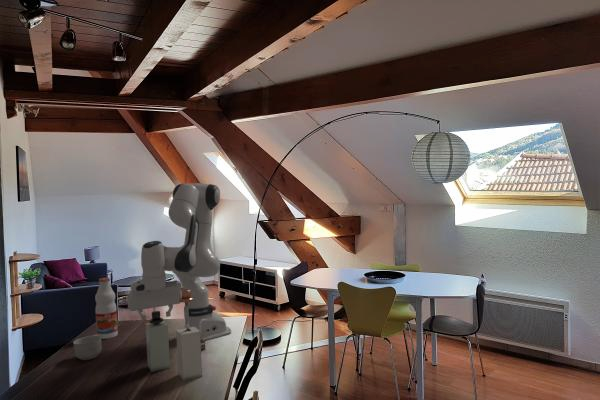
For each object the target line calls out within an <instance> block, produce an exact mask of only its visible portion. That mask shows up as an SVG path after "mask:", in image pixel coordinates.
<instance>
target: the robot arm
mask: <svg viewBox="0 0 600 400" xmlns="http://www.w3.org/2000/svg"><path fill="white" fill-rule="evenodd" d="M220 200H221V191H220V189H219V187H218V185H217V184H211V183H208V184H207V183H199V182H195V183H179V184H177V185H175V187H174V188H173V191H172V200H171V202H170V205H169V207H168V217H169V219H170V221H171V222H172V223H173V224H175V225H176V226H178V227H180V228H183V229H185V237H184V244H183V245H182V246H180V247H179V246H177V247H176V246H175V247H173V246H165V245H163V242H162V241H160V240H154V241H153V240H152V241H147V242H145V243H143V244H142V246H141V254H140V264H141V267H142V274H141V275H142V276H141V279H140V280H138V281H135V282H133V283H131V284H129V285H130V287H129V288H130V291H129V293H128V295H127V297H128V298H127V308H128V310H130V311H131V312H134V311H137V312H138V314H139V315H140V316H141V321H142V322H144V321H145V322H146V321H147V316H146V315H145V314H143V310H147V309H154V308H160V307H167V306H168V309H167V311H165V317H167V318H168V317H169V318H170V317H172V315H171V314H172V313H171V312H172V310H173V308H174V306H175V305H179V304H181V303H182V302H179V299H180V298H182V292H181V291H182V290H190V294H191V297H193V298H194V300H193V301H191V302H188V309H189V328H190V327H195V328H197V329H198V330H199V331H200V333H203V339H205V341H209V340H212V339H216V338H220V337H223V336H227V335H230V334H232V329H231V327H229V326H227V323H226V321H225V319H224V317H222V316H221V315H219V314H217V313H216V312H215V311H216V310H217V306H215V305H212V304H210V303H209V301H210V300H209V298H210V297H209V289H208V287H207V286H206V285H205V284H204V283H203V282H202V281H201V278H211V277H214V276H216V275H217V274H218V273H219V271H220V268H221V263H220V260H219V257H218V256H217V255H216V254H215V253H214V251H213V248H212V244H211V235H212V234H211V233H212V226H213V225H212V224H213V209H215V207H217V205H218V204H220V203H219V202H220ZM166 272H172V273H173V274H174V275H175V276H176V278H178V280H179V281H178V280H170V281H169V280H167V279H166V278H167V274H166ZM183 318H184V319H185V320H184V328H186V316H185V306H183Z"/></svg>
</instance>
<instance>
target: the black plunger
mask: <svg viewBox="0 0 600 400" xmlns="http://www.w3.org/2000/svg"><path fill="white" fill-rule="evenodd" d="M163 321H164V318H163V317H161V311H160V310H155V311H151V319H149V322H148V323H151V324H155V325H158V323H161V322H163Z"/></svg>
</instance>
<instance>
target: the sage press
mask: <svg viewBox="0 0 600 400" xmlns="http://www.w3.org/2000/svg"><path fill="white" fill-rule="evenodd" d="M145 335H146V336H145V341H146V357H147V358H146V359H147V368H148V369H149V370H150V372H152V373H153V372H157V371H158V372H159V371H161V370H162V371H163V370H167V369H170V368H171V365H170V364H171V363H170V361H171V360H170V344H169V343H170V342H169V325H168V323H167V322H165V321H164V320H163V322H161V323H158V325H155V324H151V323H149V322H148V323H147V322H146V323H145Z"/></svg>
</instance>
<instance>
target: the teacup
mask: <svg viewBox="0 0 600 400" xmlns="http://www.w3.org/2000/svg"><path fill="white" fill-rule="evenodd" d="M72 344H73V349H74V350H73V351H74V355H75V357H76V358H77V359H79V360H82V361H88V360H89V361H90V360H93V359H95V358H96V357H98V356H99V355H100V354H101V352H102V347H103V346H102V339H101V337H100V336H97V334H92V335H87V336H84V337H80V338H77V339H75V340H73V342H72Z"/></svg>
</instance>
